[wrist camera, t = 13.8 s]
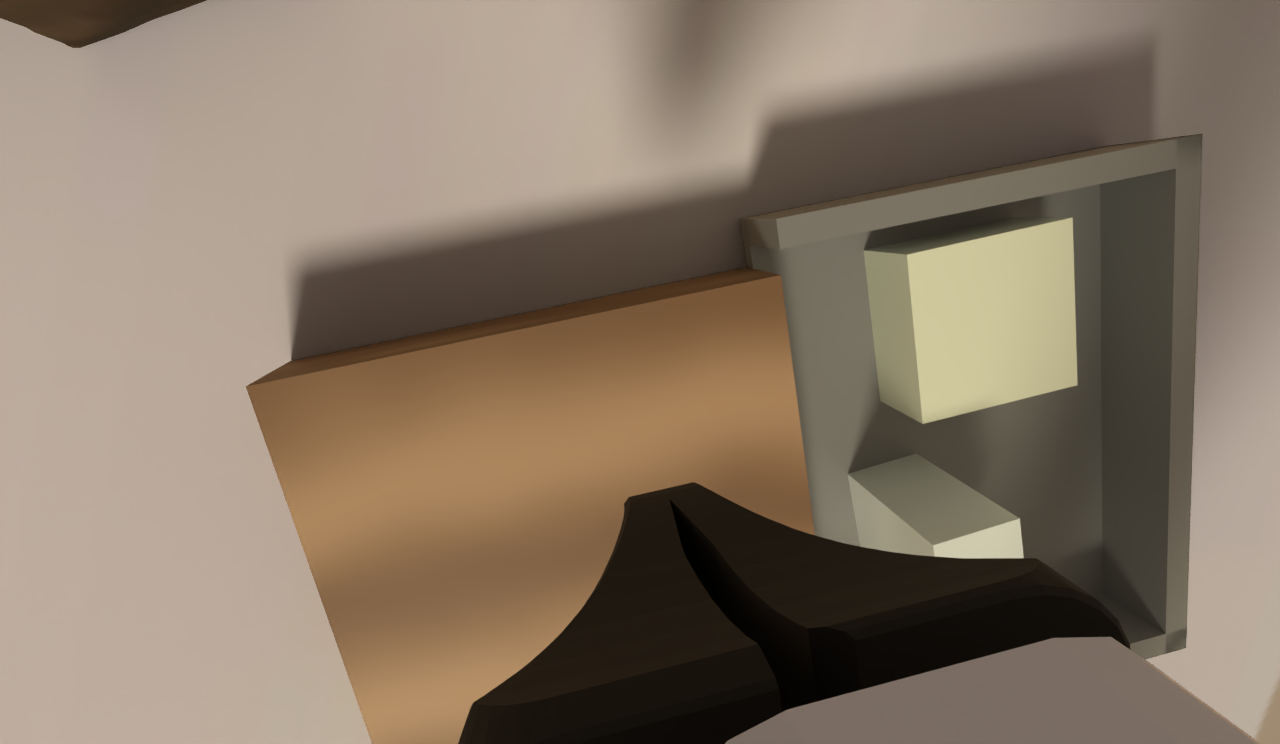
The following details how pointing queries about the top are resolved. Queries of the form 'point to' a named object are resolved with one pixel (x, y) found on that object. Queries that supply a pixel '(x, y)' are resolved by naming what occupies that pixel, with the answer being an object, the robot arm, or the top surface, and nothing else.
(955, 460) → the tray
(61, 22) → the beverage carton
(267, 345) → the top surface
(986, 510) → the tile
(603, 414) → the walnut board
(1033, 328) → the tile
